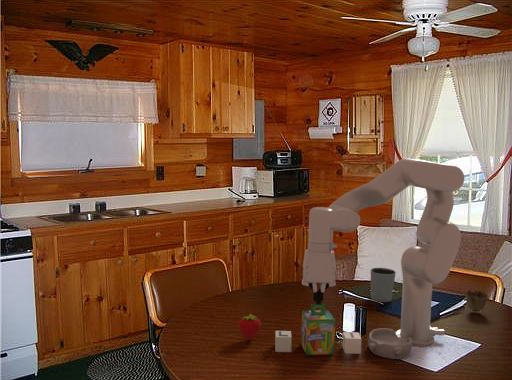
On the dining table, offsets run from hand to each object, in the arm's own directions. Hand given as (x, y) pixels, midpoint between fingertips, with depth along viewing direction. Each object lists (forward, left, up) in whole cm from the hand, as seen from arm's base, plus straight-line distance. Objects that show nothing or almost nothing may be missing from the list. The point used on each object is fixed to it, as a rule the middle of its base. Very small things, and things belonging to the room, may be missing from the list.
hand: (317, 303), depth 165 cm
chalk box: (0, 0, -16) cm, 16 cm away
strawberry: (+22, -6, -16) cm, 27 cm away
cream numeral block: (-11, 0, -16) cm, 19 cm away
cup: (-65, -36, -16) cm, 76 cm away
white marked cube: (+11, 0, -16) cm, 19 cm away
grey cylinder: (-32, -51, -16) cm, 62 cm away
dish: (-23, 0, -16) cm, 28 cm away
